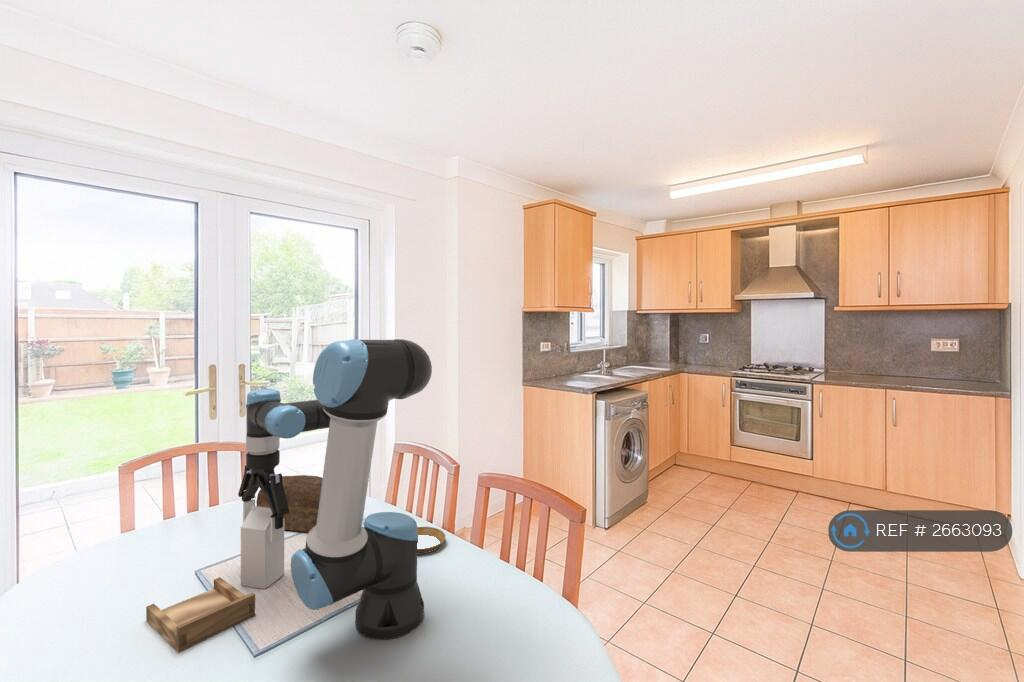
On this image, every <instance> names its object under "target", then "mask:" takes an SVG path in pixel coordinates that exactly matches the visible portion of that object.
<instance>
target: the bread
mask: <svg viewBox="0 0 1024 682" xmlns="http://www.w3.org/2000/svg"><path fill="white" fill-rule="evenodd" d="M322 479H323V476H318V475H306V474H304V475H300V474H299V475H282V482H283V487H284V491H285V495H286V499H287V504H288V508H289V513H287V514H284V515H283V518H284V531H285V530H286V531H295V532H304V533H309V531H310V530H311V529H312V528H313V527H315V526H316V525H317V517H318V509H319V502H320V494H321V486H322ZM259 489H260V490H258V493H257V495H256V500H255V505H256V506H257V507H266V508H270V505H269V503H268V500H267V497H266V494H265V493H263V492H262V490H261V488H259Z"/></svg>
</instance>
